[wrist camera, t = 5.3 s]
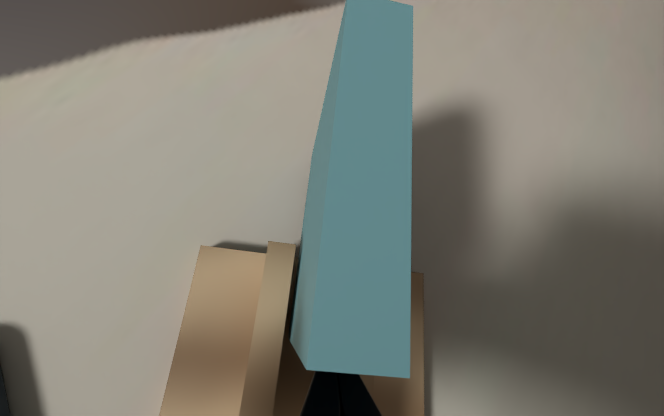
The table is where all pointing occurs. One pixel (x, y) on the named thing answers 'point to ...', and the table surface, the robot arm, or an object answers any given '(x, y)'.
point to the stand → (263, 342)
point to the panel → (360, 203)
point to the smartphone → (3, 398)
